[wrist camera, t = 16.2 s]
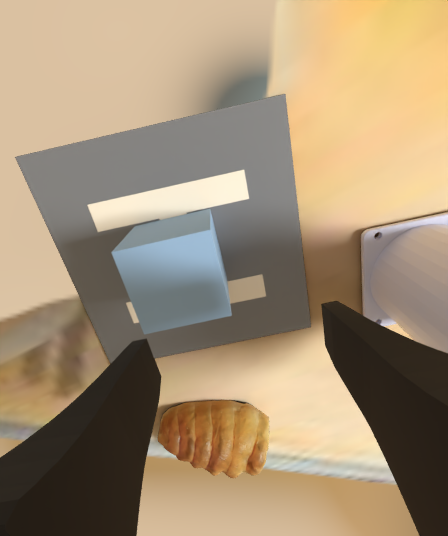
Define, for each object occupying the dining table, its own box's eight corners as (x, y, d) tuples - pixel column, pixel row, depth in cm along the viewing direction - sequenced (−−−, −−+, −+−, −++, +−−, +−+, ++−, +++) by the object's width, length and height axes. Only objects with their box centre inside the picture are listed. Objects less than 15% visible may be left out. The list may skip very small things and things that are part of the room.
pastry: (157, 441, 28) (149, 484, 24) (166, 386, 25) (159, 425, 22) (253, 451, 29) (259, 493, 25) (271, 399, 26) (281, 438, 23)
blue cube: (210, 208, 19) (210, 229, 14) (226, 277, 21) (231, 315, 16) (134, 226, 19) (111, 252, 15) (158, 292, 21) (144, 334, 16)
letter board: (284, 94, 17) (285, 93, 17) (310, 325, 23) (311, 327, 23) (16, 156, 17) (14, 157, 17) (112, 365, 24) (111, 367, 23)
